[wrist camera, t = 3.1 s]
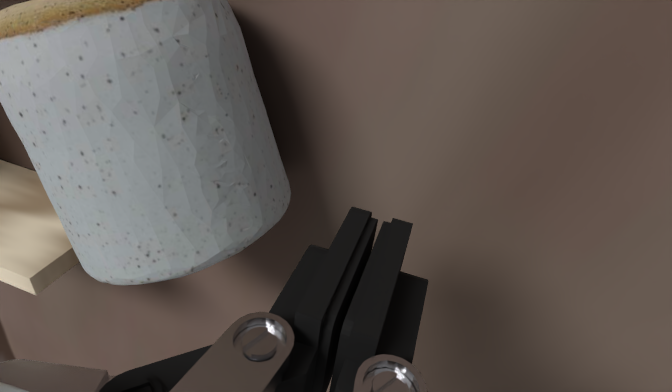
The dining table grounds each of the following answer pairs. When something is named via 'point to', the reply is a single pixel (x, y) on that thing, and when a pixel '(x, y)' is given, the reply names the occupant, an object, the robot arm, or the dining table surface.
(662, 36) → the dining table surface
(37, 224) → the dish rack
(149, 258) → the ceramic mug
